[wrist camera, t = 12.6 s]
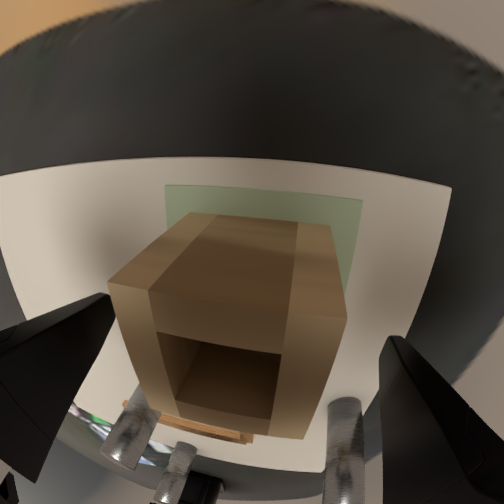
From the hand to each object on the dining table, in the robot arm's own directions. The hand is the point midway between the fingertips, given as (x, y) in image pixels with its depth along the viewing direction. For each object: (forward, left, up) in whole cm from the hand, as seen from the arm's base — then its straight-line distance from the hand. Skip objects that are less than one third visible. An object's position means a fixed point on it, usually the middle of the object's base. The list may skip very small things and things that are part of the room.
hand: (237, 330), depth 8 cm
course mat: (-8, +6, -4) cm, 11 cm away
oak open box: (0, 0, -3) cm, 3 cm away
